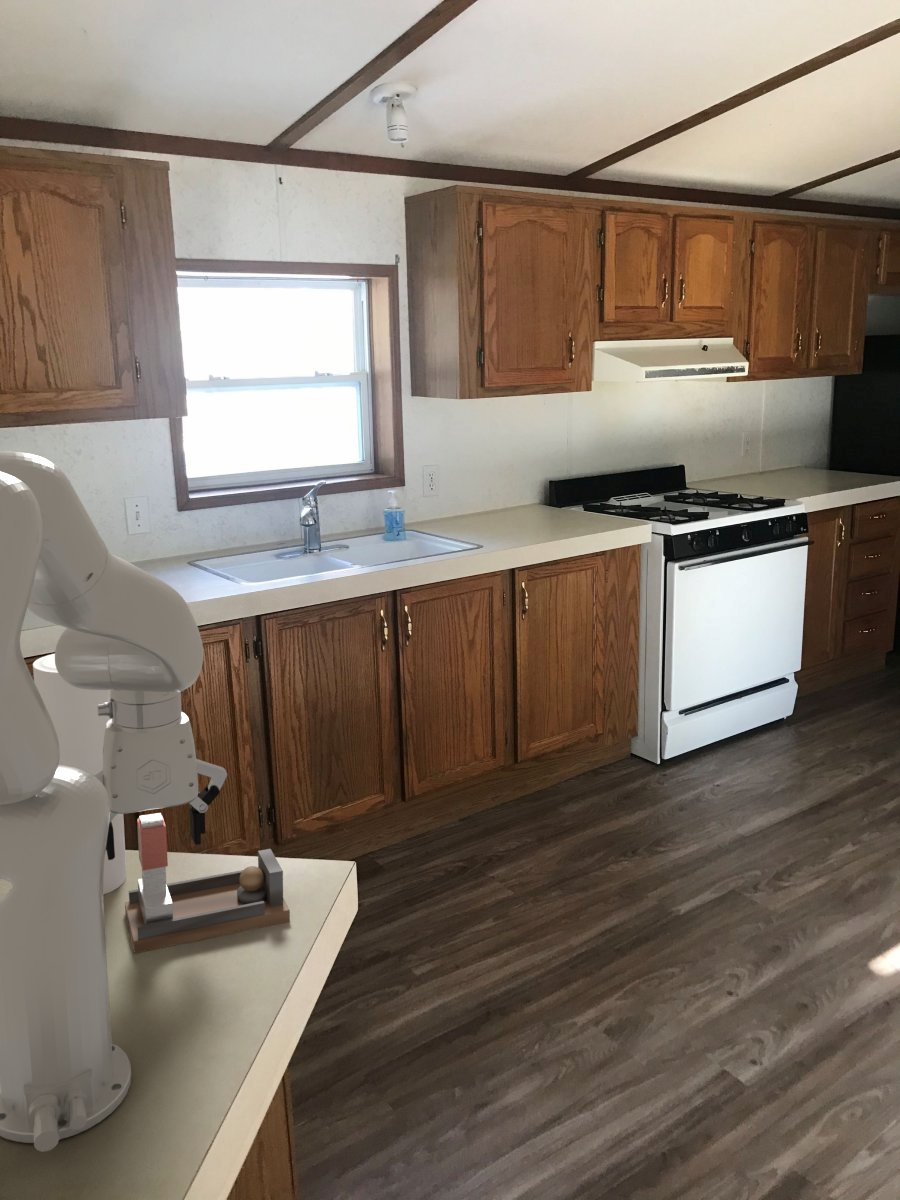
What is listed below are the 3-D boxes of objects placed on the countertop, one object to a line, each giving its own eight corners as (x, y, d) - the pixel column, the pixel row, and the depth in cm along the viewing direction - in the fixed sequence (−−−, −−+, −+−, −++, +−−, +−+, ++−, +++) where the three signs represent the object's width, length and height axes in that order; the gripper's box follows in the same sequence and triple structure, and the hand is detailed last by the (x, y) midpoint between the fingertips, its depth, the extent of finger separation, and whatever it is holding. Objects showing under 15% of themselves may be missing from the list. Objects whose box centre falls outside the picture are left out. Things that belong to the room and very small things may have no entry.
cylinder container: (33, 894, 122) (16, 665, 115) (74, 858, 131) (60, 644, 124) (102, 903, 120) (89, 671, 113) (139, 866, 129) (129, 649, 122)
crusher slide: (173, 926, 112) (169, 829, 110) (146, 931, 111) (141, 833, 108) (164, 896, 119) (160, 804, 116) (138, 901, 117) (134, 808, 115)
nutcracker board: (289, 921, 117) (289, 876, 116) (134, 953, 110) (132, 905, 109) (271, 885, 125) (270, 843, 124) (125, 913, 118) (123, 868, 117)
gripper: (66, 730, 102) (77, 876, 107) (230, 710, 109) (234, 848, 114) (62, 707, 109) (72, 845, 113) (217, 689, 116) (221, 820, 120)
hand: (153, 846), depth 113 cm, fingers open, 9 cm apart
